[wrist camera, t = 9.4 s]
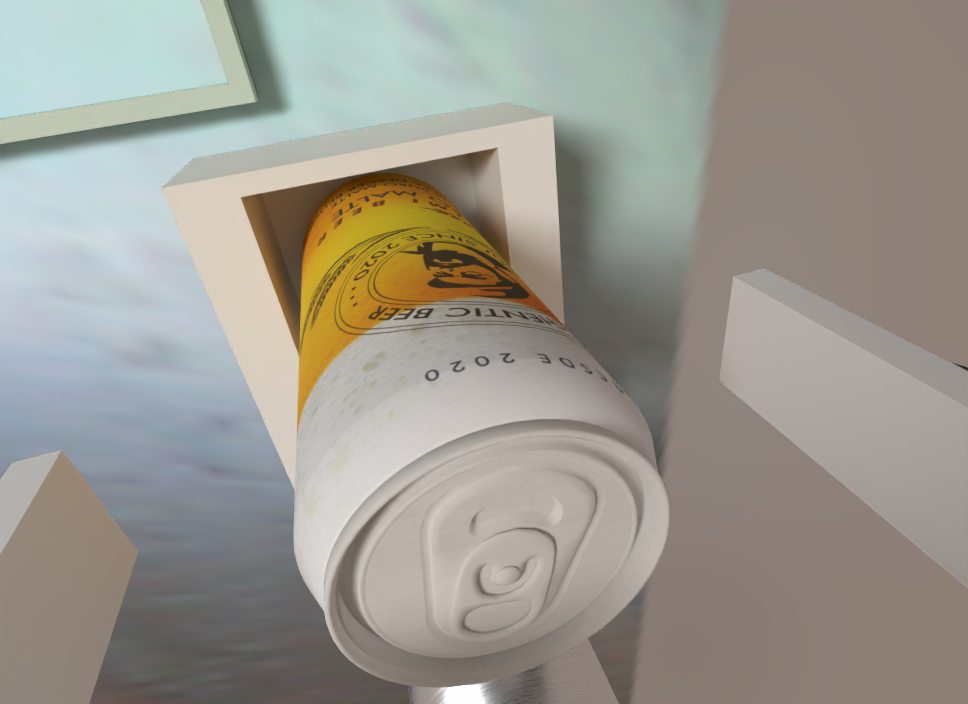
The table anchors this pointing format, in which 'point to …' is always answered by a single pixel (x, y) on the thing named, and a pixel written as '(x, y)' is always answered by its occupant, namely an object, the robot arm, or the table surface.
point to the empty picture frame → (151, 105)
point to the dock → (316, 174)
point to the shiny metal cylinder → (533, 684)
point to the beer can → (456, 451)
